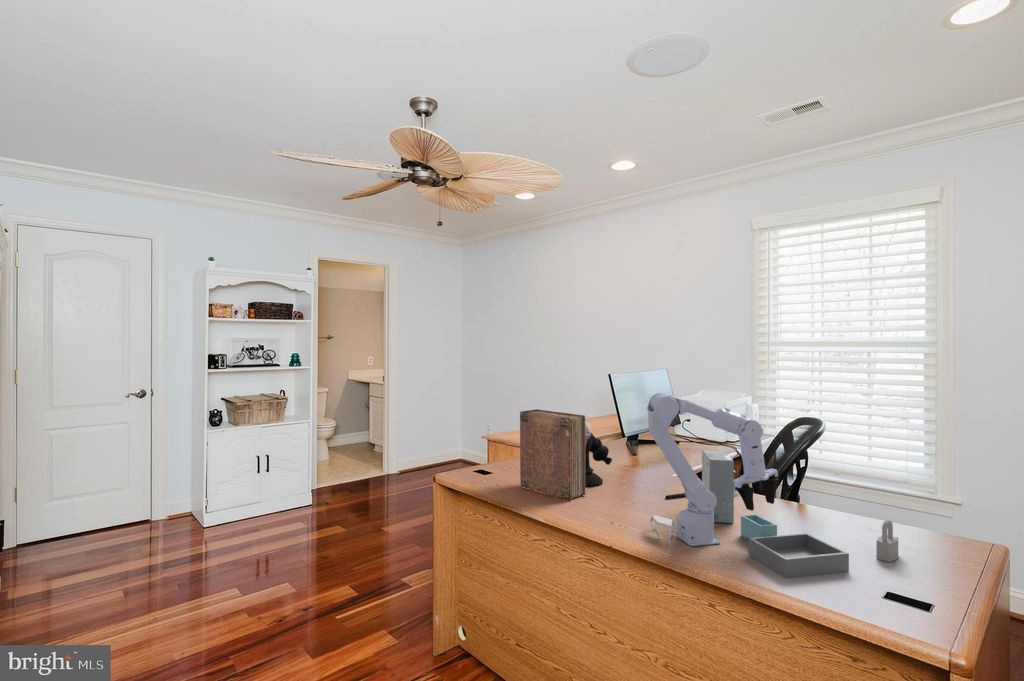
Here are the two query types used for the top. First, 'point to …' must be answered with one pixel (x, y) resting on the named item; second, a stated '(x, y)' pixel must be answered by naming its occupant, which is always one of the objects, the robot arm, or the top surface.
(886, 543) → the padlock
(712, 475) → the hard drive box
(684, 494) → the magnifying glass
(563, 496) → the book
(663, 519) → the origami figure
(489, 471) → the top surface
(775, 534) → the teal mini crate
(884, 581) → the top surface
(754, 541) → the grey crate
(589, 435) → the sculpture
